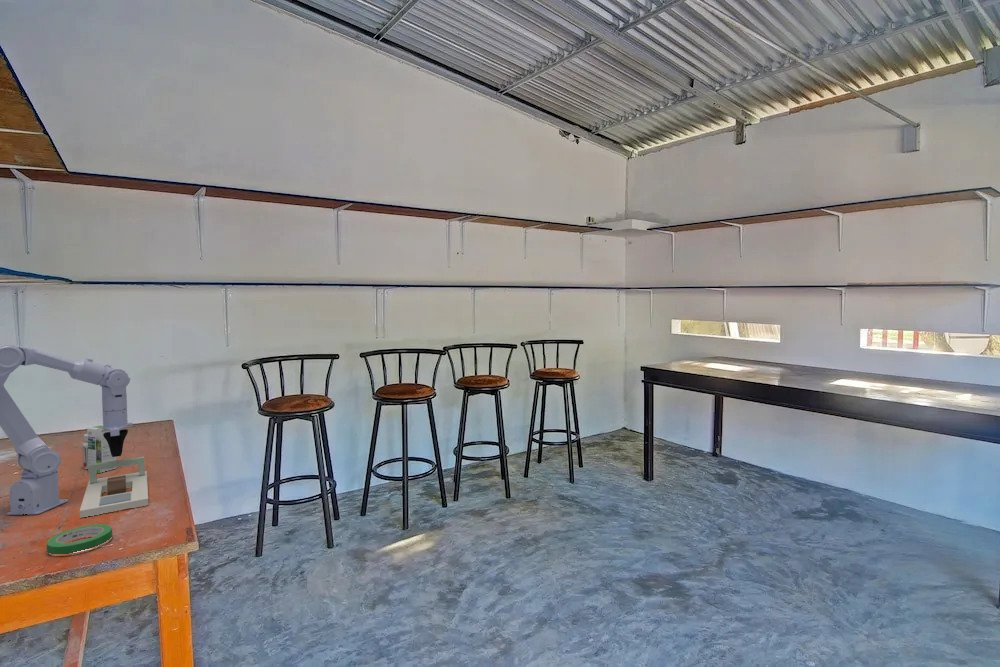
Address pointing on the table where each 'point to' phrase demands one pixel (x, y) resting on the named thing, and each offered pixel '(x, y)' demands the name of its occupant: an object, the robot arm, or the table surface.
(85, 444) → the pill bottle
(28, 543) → the table surface
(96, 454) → the syrup box
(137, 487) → the puzzle board
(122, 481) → the walnut block
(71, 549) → the tape roll
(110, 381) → the robot arm
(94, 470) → the sliding bridge
